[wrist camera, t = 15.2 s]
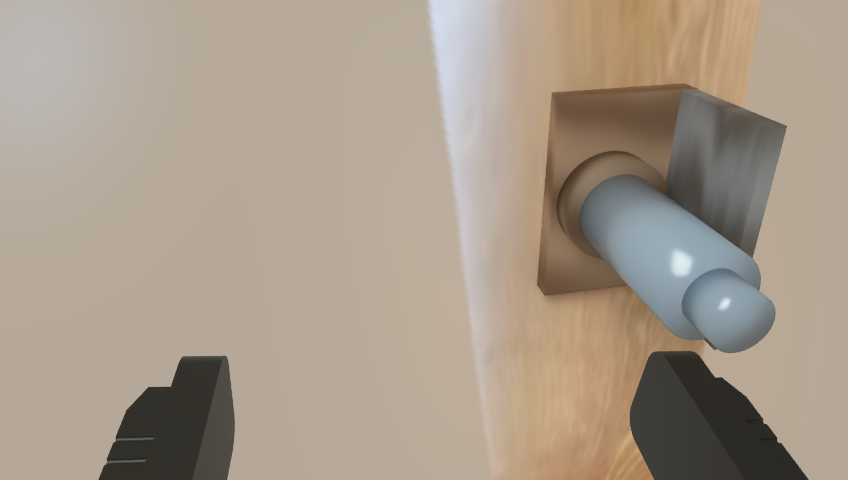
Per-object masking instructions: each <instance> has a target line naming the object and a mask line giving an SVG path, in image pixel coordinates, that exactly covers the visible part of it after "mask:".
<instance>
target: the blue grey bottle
mask: <svg viewBox="0 0 848 480" xmlns="http://www.w3.org/2000/svg"><path fill="white" fill-rule="evenodd" d="M579 227H580V231H581V233H582V235H583V237H584V238H585V239H586V240H587V242H588V243H589V244H590V245H591V246H592V247H593V248H594V249H595V250H596V251H597V252H598V253H599V254H600V256H601V257H602V258H603V259H604V260H605V261H606V262H607V263H608V264H609V265H610V266H611V267H612V269H613V270H614V271H615V272H616V273H617V274H618V275H619V276H620V277H621V278H622V279H623V280H624V281H625V283H626V284H627V285H628V286H629V287H630V288H631V289H632V290H633V291H634V292H635V293H636V294H637V296H638V297H639V298H640V299H641V300H642V301H643V302H644V303H645V304H646V305H647V306H648V307H649V308H650V310H651V311H652V312H653V313H654V314H655V315H656V316H657V317H658V318H659V319H660V320H661V321H662V323H663V324H664V325H665V326H666V327H667V328H668V329H669V330H670V331H671V332H672V333H673V334H675V335H676V336H678V337H680V338H684V339H688V340H701V339H708V340H709V341H710V342H711V343H712V344H713V345H714V346H715V347H716V348H717V349H718V350H720V351H722V352H726V353H736V352H740V351H744V350H746V349H748V348H750V347H752V346H754V345H755V344H756V343H758V342H759V341H760V340H761V339H763V338H764V337H765V335H766V334H767V333H768V332H769V330H770V329H771V327H772V325H773V322H774V319H775V307H774V304H773V303H772V301H771V300H770V299H768V298H767V297H766V296H765V295H764V294H762V293H761V292H760V291H759V288H760V280H761V276H760V271H759V268H758V265H757V264H756V262H755V261H754V260H753V259H752V258H751V257H750V256H749V255H747V254H746V253H745V252H743V251H742V250H741V249H739V248H738V247H736V246H735V245H734V244H732V243H731V242H730V241H728V240H727V239H726V238H724V237H723V236H721V235H720V234H719V233H717V232H716V231H715V230H713V229H712V228H710V227H709V226H708V225H706V224H705V223H704V222H702V221H701V220H699V219H698V218H697V217H695V216H694V215H693V214H691V213H690V212H688V211H687V210H686V209H684V208H683V207H682V206H680V205H679V204H677V203H676V202H675V201H673V200H672V199H671V198H669V197H668V196H667V195H665V194H664V193H662V192H661V191H660V190H658V189H657V188H656V187H654V186H653V185H651V184H650V183H649V182H647V181H646V180H644V179H643V178H641V177H639V176H636V175H631V174H622V175H617V176H613V177H610V178H608V179H606V180H604V181H602V182H601V183H600V184H598V185H597V186H596V187H595V188H594V189H593V190H592V191H591V192H590V193H589V194H588V196H587V197H586V199H585V200H584V202H583V204H582V207H581V210H580V214H579Z"/></svg>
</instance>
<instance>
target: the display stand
mask: <svg viewBox="0 0 848 480" xmlns="http://www.w3.org/2000/svg"><path fill="white" fill-rule="evenodd" d="M786 128H787V126H785V125H783V124H781V123H778V122H776V121H773V120H771V119H768V118H766V117H763V116H761V115H758V114H756V113H754V112H751V111H749V110H746V109H744V108H741V107H739V106H736V105H734V104H732V103H729V102H727V101H724V100H722V99H719V98H717V97H714V96H712V95H710V94H707V93H705V92H702V91H700V90H698V89H697V88H694V87H692V86H689V85H687V84H672V85H657V86H643V87H628V88H613V89H599V90H584V91H569V92H555V93H552V102H551V115H550V127H549V140H548V153H547V166H546V179H545V191H544V204H543V217H542V230H541V243H540V256H539V268H538V281H537V285H538V287H539V288H540V289H541V291H542V292H543V294H544V295H553V294H561V293H570V292H578V291H586V290H594V289H602V288H610V287H618V286H627V284H626V283H625V281H624V280H623V279H622V278H621V277H620V276H619V275H618V274H617V273H616V272H615V271H614V270H613V269H612V267H611V266H610V265H609V264H608V263H607V262H606V261H605V260H604V259H603V258H602V257H601V256H600V254H599V253H598V252H597V251H596V250H595V249H594V248H593V247H592V246H591V245H590V244H589V243H588V242H587V240H586V239H585V238H584V237H583V235H582V233H581V231H580V227H579V214H580V210H581V207H582V204H583V202H584V200H585V199H586V197H587V196H588V194H589V193H590V192H591V191H592V190H593V189H594V188H595V187H596V186H597V185H598V184H600V183H601V182H602V181H604V180H606V179H608V178H610V177H613V176H617V175H622V174H631V175H636V176H639V177H641V178H643V179H644V180H646V181H647V182H649V183H650V184H651V185H653V186H654V187H656V188H657V189H658V190H660V191H661V192H662V193H664V194H665V195H667V196H668V197H669V198H671V199H672V200H673V201H675V202H676V203H677V204H679V205H680V206H682V207H683V208H684V209H686V210H687V211H688V212H690V213H691V214H693V215H694V216H695V217H697V218H698V219H699V220H701V221H702V222H704V223H705V224H706V225H708V226H709V227H710V228H712V229H713V230H715V231H716V232H717V233H719V234H720V235H721V236H723V237H724V238H726V239H727V240H728V241H730V242H731V243H732V244H734V245H735V246H736V247H738V248H739V249H741V250H742V251H743V252H745V253H746V254H747V255H749V256H750V257H751V258H752V257H753V254H754V249H755V246H756V242H757V238H758V235H759V231H760V227H761V223H762V219H763V216H764V212H765V208H766V204H767V200H768V196H769V193H770V188H771V185H772V181H773V177H774V173H775V170H776V166H777V162H778V158H779V155H780V151H781V147H782V143H783V139H784V135H785V132H786ZM704 340H705V341H706V342H707V343H708V344H709V345H710V346H711V347H712V348H713V349H717V348H716V347H715V346H714V345H713V344H712V343H711V342H710V341H709V340H708V339H704Z"/></svg>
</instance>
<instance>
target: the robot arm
mask: <svg viewBox="0 0 848 480" xmlns="http://www.w3.org/2000/svg"><path fill="white" fill-rule="evenodd" d="M234 426H235V419H234V409H233V399H232V390H231V382H230V373H229V364H228V359H227V357H226V356H184V357H182V358H181V360H180V362H179V364H178V367H177V370H176V373H175V376H174V379H173V382H172V385H171V387H148V388H147V389H146V390H145V391H144V392H143V394H142V395H141V396H140V397H139V398H138V399H137V400H136V401H135V402H134V403H133V404H132V405H131V406H130V407H129V408H128V409H127V410H126V413H125V415H124V418H123V420H122V423H121V425H120V428H119V430H118V433H117V435H116V442H114V443H113V445H112V448H111V450H110V453H109V455H108V457H107V464H106V465H104V467H103V470H102V473H101V475H100V477H99V480H227V477H228V472H229V467H230V461H231V456H232V451H233V443H234V430H235V427H234ZM630 426H631V431H632V434H633V437H634V440H635V442H636V444H637V446H638V448H639V450H640V452H641V454H642V456H643V458H644V460H645V462H646V464H647V466H648V468H649V470H650V472H651V474H652V476H653V478H654V480H808V478H807V477H806V476H805V474H804V473H803V472H802V470H801V469H800V468H799V466H798V465H797V464H796V462H795V461H794V460H793V458H792V457H791V456H790V454H789V453H788V452H787V451H786V449H785V448H784V446H783V445H782V444H781V443H778V442H777V437H776V436H775V434H774V433H773V432H772V430H771V429H770V428H769V426H768V425H767V424H764V423H763V418H762V417H761V416H760V414H759V413H758V412H757V410H756V409H755V408H754V407H753V405H752V404H751V402H750V401H749V400H748V399H747V397H746V396H744V395H743V394H742V393H741V392H739V391H738V390H737V389H736V388H734V387H733V386H732V385H731V384H729V383H728V382H727V381H725V380H724V379H723V378H715V377H714V376H713V374H712V373H711V372H710V370H709V369H708V367H707V366H706V365H705V363H704V362H703V360H702V359H701V358H700V356H699V355H698V354H696V353H695V352H692V351H663V352H653V353H652V354H651V355H650V356H649V358H648V360H647V363H646V366H645V369H644V371H643V374H642V377H641V380H640V383H639V386H638V388H637V391H636V394H635V397H634V400H633V402H632V405H631V410H630Z"/></svg>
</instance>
